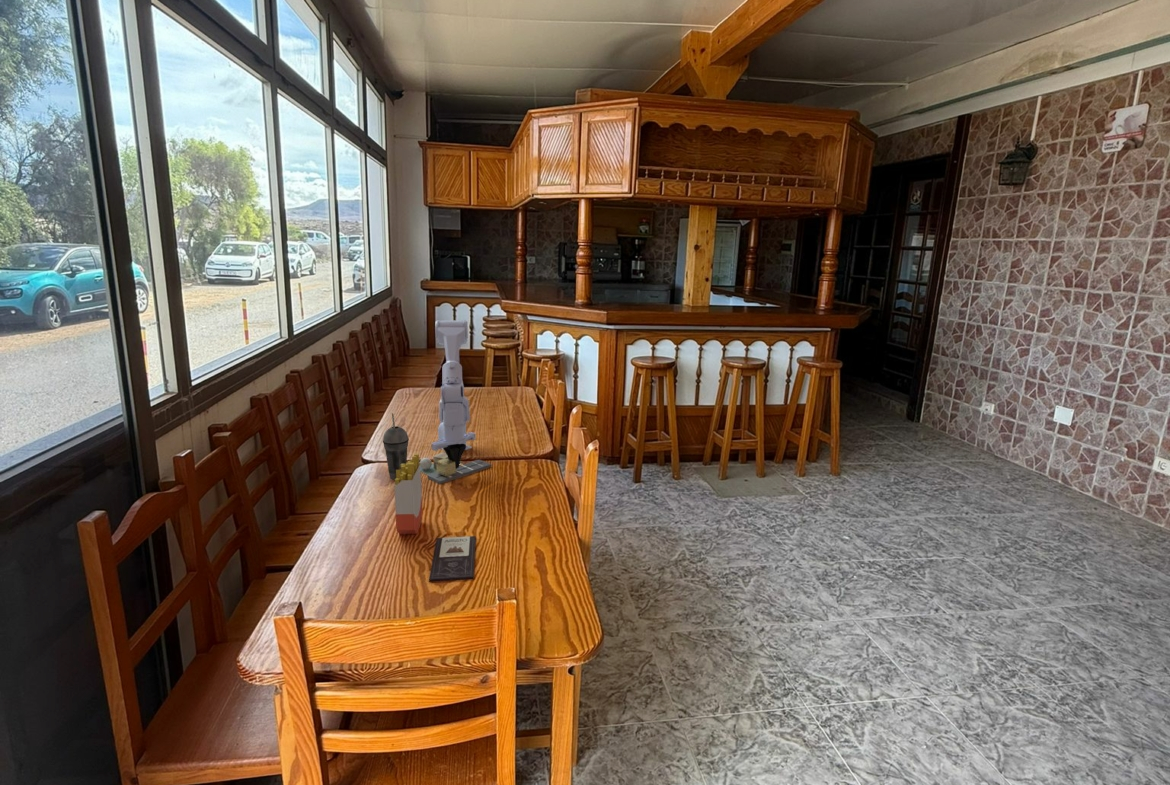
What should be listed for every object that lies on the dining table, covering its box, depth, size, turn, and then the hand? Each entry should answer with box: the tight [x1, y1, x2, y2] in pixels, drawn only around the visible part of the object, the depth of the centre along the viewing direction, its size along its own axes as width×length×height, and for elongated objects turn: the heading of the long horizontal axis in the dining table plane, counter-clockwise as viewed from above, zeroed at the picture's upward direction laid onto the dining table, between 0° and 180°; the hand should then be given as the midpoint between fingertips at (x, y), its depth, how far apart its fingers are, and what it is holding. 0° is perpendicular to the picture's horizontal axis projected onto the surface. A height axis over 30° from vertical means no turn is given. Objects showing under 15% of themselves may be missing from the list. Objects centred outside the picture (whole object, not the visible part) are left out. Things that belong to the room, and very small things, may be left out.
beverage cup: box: [382, 412, 410, 481], centre depth 174 cm, size 7×7×20 cm
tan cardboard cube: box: [436, 458, 456, 476], centre depth 176 cm, size 4×4×4 cm
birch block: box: [433, 452, 449, 469], centre depth 184 cm, size 4×4×4 cm
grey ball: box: [419, 457, 433, 470], centre depth 182 cm, size 4×4×4 cm
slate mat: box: [420, 460, 465, 476], centre depth 185 cm, size 8×14×1 cm, turn 139°
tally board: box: [427, 459, 492, 485], centre depth 181 cm, size 6×19×1 cm, turn 139°
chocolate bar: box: [428, 535, 477, 583], centre depth 133 cm, size 9×1×18 cm
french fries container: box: [394, 453, 423, 535], centre depth 144 cm, size 5×11×18 cm, turn 5°
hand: (454, 467), depth 179 cm, fingers closed
